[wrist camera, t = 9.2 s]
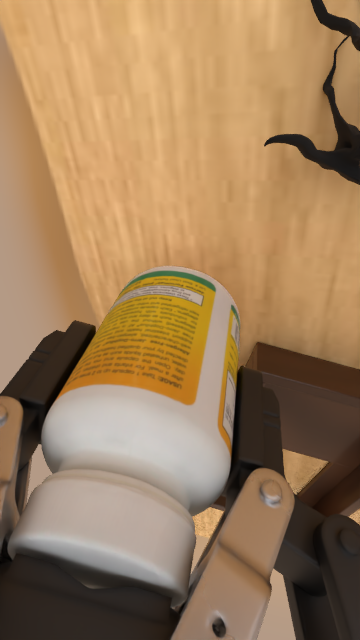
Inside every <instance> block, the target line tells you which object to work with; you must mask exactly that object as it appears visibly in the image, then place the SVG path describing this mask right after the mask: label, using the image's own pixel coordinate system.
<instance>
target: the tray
mask: <svg viewBox="0 0 360 640" xmlns="http://www.w3.org/2000/svg"><path fill="white" fill-rule="evenodd" d="M246 367H248V368H251V369H255V370H259V371H262V375H263V387H266V388H269V389H273V391H274V393H275V395H276V397H277V399H278V401H279V406H280V421H281V428H280V430H281V436H282V449H286V450H289V451H293V452H296V453H300V454H304V455H307V456H311V457H314V458H318V459H321V460H325V461H329V462H330V463H329V464H328V465H327V466H326V467H325V468H324V469H323V470H322V471H321V472H320V473H319V474H318V475H317V476H316V477H315V478H314V479H313V480H312V481H311V482H310V483H309V484H308V485H307V486H306V487H305V488H304V489H303V490H302V491H301V492H300V493H299V494H298V495H297V497H298V498H299V499H300V500H301V501H302V502H304V503H305V504H307V505H308V506H310V507H311V508H313V509H315V510H316V511H318V512H319V513H321V514H322V515H324V516H326V517H329V516H330V515H333V514H341V515H344V516H347V517H348V516H350V515H351V514H353V513H354V512H355V511H357V510H358V509H359V508H360V370H358V369H354V368H351V367H347V366H343V365H340V364H336V363H332V362H329V361H325V360H321V359H318V358H314V357H310V356H306V355H303V354H299V353H295V352H292V351H288V350H284V349H281V348H277V347H273V346H270V345H266V344H262V343H259V342H258V343H257V344H256V346H255V348H254V351H253V352H252V354H251V357H250V359H249V361H248V363H247V365H246ZM225 505H226V497H224V496H219V498H218V499H217V500H216V501H215V502H214V503H213V504H212V505H211V506H210V507H212V508H215V509H219V510H222V511H225Z"/></svg>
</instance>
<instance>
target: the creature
mask: <svg viewBox="0 0 360 640" xmlns="http://www.w3.org/2000/svg"><path fill="white" fill-rule="evenodd" d="M311 3H312V6H313V9H314V12H315V14H316V16H317V18H318V20H319V22H320V23H321V24H323V25H325V26H326V27H328V28H330V29H331V30H336V31H339V32H341V33H342V34H344V35H347V37H346V38H345V39H344V40H343V41H342V42H341V44H342V43H343V42H344V41H345V40H346V39H347V38H348V37H349V36H351V38H352V43H353V45H354V46H355V48H356V49H357V50H358V51H360V28H359V27H358V26H357V25H356V24H355V23H354V22H352V21H350V20H348V19H345V18H340V17H337V16H334V15H332V14H329V13H328V12H327V10H326V7H325V5H324V3H323V1H322V0H311ZM341 44H340V45H339V46H338V47H337V49H336V50H335V52H334V63H333V67H332V69H331V71H330V73H329V75H328V77H327V79H326V81H325V83H324V85H323V91H324V93H325V94H326V95H327V96H328V100H329V103H330V106H331V110H332V114H333V118H334V123H335V128H336V131H337V134H338V142H337V145H336V147H335V150H334V151H322V150H317V149H316V147H315V146H314V144H313V143H312V141H311V140H310V139H309V138H307V137H305V136H303V135H300V134H282V135H277V136H274V137H271V138H269V139H268V140H267V141H266V142H265V145H264V147H265V146H266V145H268V144H271V143H286V144H290V145H293V146H296V147H297V148H298V149H299V151H300V152H301V153H302V155H303V156H304V157H305V158H307V159H309V160H311V161H314V162H316V163H318V164H319V165H320V166H321V167H322V168H324V169H329V170H334V171H336V172H338V173H339V174H340V175H341V176H342V177H344V178H346V179H347V180H349V181H352V182H355V183H357V184H359V185H360V131H359V130H358V128H356V127H355V126H353V125H350V124H348V123H347V122H345V120H344V119H343V118H342V116H341V115H340V113H339V110H338V108H337V106H336V103H335V94H334V88H333V87H332V86H331V83H332V78H333V75H334V71H335V68H336V53H337V50H338V48H339V47H340V46H341Z"/></svg>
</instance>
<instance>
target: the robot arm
mask: <svg viewBox="0 0 360 640" xmlns="http://www.w3.org/2000/svg"><path fill="white" fill-rule="evenodd" d="M95 334H96V327H95V326H94V325H90V324H87V323H83V322H79V321H76V320H75V321H73V322H72V324H71V325H70V326H69V328H68V329H67V330H66V332H61V331H58V330H56V331H54V332H53V333H51V334H50V335H48V336H46V337H45V338H43V340H42V341H41V342H40V344H39V345H38V346H37V347H36V349H35V351H33V353H32V354H31V355H30V357H29V359H28V360H26V362H25V363H24V364H23V366H22V367H21V368H20V369H19V371H18V372H17V373H16V375H15V376H14V377H13V378H12V380H11V381H10V382H9V384H8V385H7V386H6V387H5V389H4V390H3V391H2V393H1V394H0V640H257V637H258V634H259V631H260V628H261V625H262V622H263V618H264V616H265V613H266V610H267V606H268V603H269V600H270V596H271V590H272V586H271V584H270V576H271V573H272V570H273V568H274V569H275V570H277V571H278V572H279V573H281V574H282V575H283V577H284V582H285V587H286V592H287V596H288V602H289V607H290V611H291V617H292V621H293V627H294V631H295V636H296V640H360V525H359V524H358V523H356V522H355V521H354V520H352V519H351V518H349V517H347V516H344V515H341V514H333V515H330V516H329V517H326V516H324V515H322V514H321V513H319V512H318V511H316V510H315V509H313V508H311V507H310V506H308V505H307V504H305V503H304V502H302V501H301V500H300V499H299V498H298V497H297V496H296V495H295V494H294V493H293V491H292V489H291V487H290V485H289V483H288V482H287V481H286V478H285V475H284V466H283V451H282V436H281V430H280V428H281V421H280V406H279V401H278V399H277V397H276V395H275V393H274V391H273V389H269V388H266V387H263V375H262V371H259V370H255V369H251V368H248V367H244V366H241V367H240V369H239V371H238V373H237V386H236V399H235V414H234V428H233V443H232V455H231V467H230V473H229V477H228V481H227V484H226V486H225V488H224V490H223V492H222V493H221V495H220V496H224V497H226V505H225V511H224V512H223V514H222V516H221V518H220V520H219V522H218V523H217V525H216V527H215V529H214V531H213V533H212V535H211V537H210V539H209V541H208V543H207V545H206V547H205V549H204V551H203V553H202V555H201V557H200V559H199V561H198V563H197V564H196V566H195V568H194V570H193V572H192V574H191V575H190V581H189V587H188V593H187V597H186V600H185V601H184V602H183V603H182V604H181V605H179V606H176V607H174V608H171V602H172V598H171V597H168V596H165V595H161V594H158V593H154V592H151V591H147V590H144V589H140V588H137V587H116V588H96V589H93V588H88V587H86V586H85V585H83V584H82V583H81V582H79V581H78V580H76V579H75V578H74V577H72V576H71V575H69V574H68V573H67V572H65V571H64V570H62V569H61V568H60V567H58V566H57V565H55V564H53V563H50V562H46V561H43V560H40V559H36V558H33V557H29V556H26V555H22V554H19V553H16V555H15V557H14V559H13V560H12V558H11V557H10V555H9V554H8V549H7V548H8V543H9V540H10V537H11V535H12V533H13V531H14V529H15V527H16V525H17V522H18V520H19V519H20V517H21V515H22V513H23V511H24V509H25V507H26V502H27V495H28V486H29V478H30V470H31V462H32V455H33V453H34V451H35V450H36V448H37V446H38V444H41V434H42V428H43V424H44V421H45V418H46V416H47V414H48V412H49V410H50V408H51V406H52V405H53V403H54V402H55V400H56V398H57V397H58V395H59V394H60V392H61V390H62V389H63V387H64V385H65V384H66V382H67V380H68V379H69V377H70V375H71V374H72V372H73V370H74V369H75V367H76V365H77V364H78V362H79V360H80V359H81V357H82V356H83V354H84V352H85V351H86V349H87V347H88V346H89V344H90V342H91V341H92V339H93V337H94V336H95ZM41 445H42V444H41Z"/></svg>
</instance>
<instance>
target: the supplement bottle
mask: <svg viewBox="0 0 360 640" xmlns="http://www.w3.org/2000/svg"><path fill="white" fill-rule="evenodd" d="M239 341H240V316H239V311H238V308H237V306H236V303H235V302H234V300H233V298H232V296H231V295H230V293H229V292H228V291H227V290H226V289H225V287H224V286H222V285H221V284H220V283H219V282H218V281H216V280H215V279H214V278H212V277H210V276H209V275H207V274H205V273H202V272H200V271H197V270H193V269H189V268H185V267H179V266H160V267H155V268H151V269H148V270H146V271H144V272H142V273H140V274H138V275H137V276H135V277H134V278H133V279H131V280H130V281H129V282H128V283H127V285H126V286H125V287H124V289H123V290H122V292H121V293H120V294H119V296H118V298H117V300H116V301H115V303H114V305H113V306H112V308H111V309H110V311H109V312H108V314H107V315H106V317H105V319H104V321H103V322H102V324H101V326H100V327H99V329H98V331H97V332H96V334H95V336H94V337H93V339H92V341H91V342H90V344H89V346H88V347H87V349H86V351H85V352H84V354H83V356H82V357H81V359H80V360H79V362H78V364H77V365H76V367H75V369H74V370H73V372H72V374H71V375H70V377H69V379H68V380H67V382H66V384H65V385H64V387H63V389H62V390H61V392H60V394H59V395H58V397H57V398H56V400H55V402H54V403H53V405H52V406H51V408H50V410H49V412H48V414H47V416H46V418H45V421H44V424H43V428H42V434H41V444H42V451H43V455H44V458H45V461H46V463H47V465H48V467H49V469H50V470H51V472H52V473H53V474H52V475H50V476H48V477H47V478H46V479H45V480H44V481H43V482H42V484H40V485H39V486H38V487H36V488H35V489H34V490H33V492H32V493H31V495H30V497H29V500H28V503H27V505H26V507H25V509H24V511H23V513H22V515H21V517H20V519H19V520H18V522H17V525H16V527H15V529H14V531H13V533H12V535H11V537H10V540H9V543H8V548H7V549H8V554H9V555H10V557H11V558H12V560H13V559H14V557H15V555H16V553H19V554H22V555H26V556H29V557H33V558H36V559H40V560H43V561H46V562H50V563H53V564H55V565H57V566H58V567H60V568H61V569H62V570H64V571H65V572H67V573H68V574H69V575H71V576H72V577H74V578H75V579H76V580H78V581H79V582H81V583H82V584H83V585H85V586H86V587H88V588H93V589H96V588H116V587H137V588H140V589H144V590H147V591H151V592H154V593H158V594H161V595H165V596H168V597H171V598H172V602H171V608H174V607H176V606H179V605H181V604H182V603H183V602H184V601H185V600H186V597H187V593H188V587H189V581H190V573H191V566H192V560H193V553H194V549H195V544H196V535H195V525H194V521H193V519H192V516H195V515H197V514H199V513H201V512H202V511H204V510H206V509H207V508H209V507H210V506H211V505H212V504H213V503H214V502H215V501H216V500H217V499H218V498H219V496H220V495H221V493H222V492H223V490H224V488H225V486H226V484H227V481H228V477H229V473H230V467H231V455H232V443H233V428H234V414H235V399H236V386H237V372H238V359H239Z"/></svg>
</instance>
